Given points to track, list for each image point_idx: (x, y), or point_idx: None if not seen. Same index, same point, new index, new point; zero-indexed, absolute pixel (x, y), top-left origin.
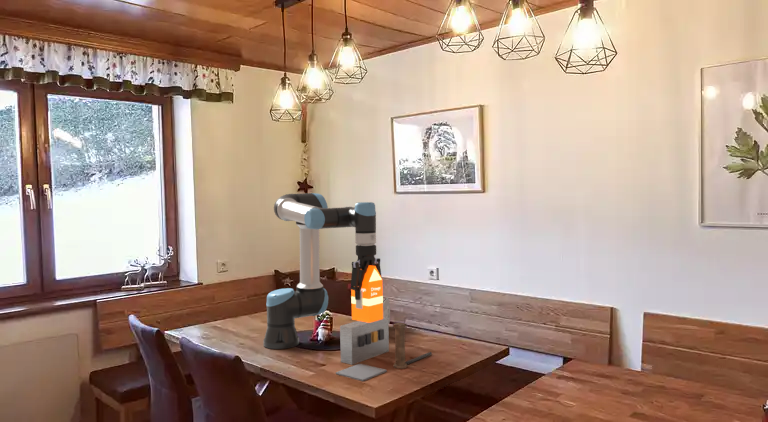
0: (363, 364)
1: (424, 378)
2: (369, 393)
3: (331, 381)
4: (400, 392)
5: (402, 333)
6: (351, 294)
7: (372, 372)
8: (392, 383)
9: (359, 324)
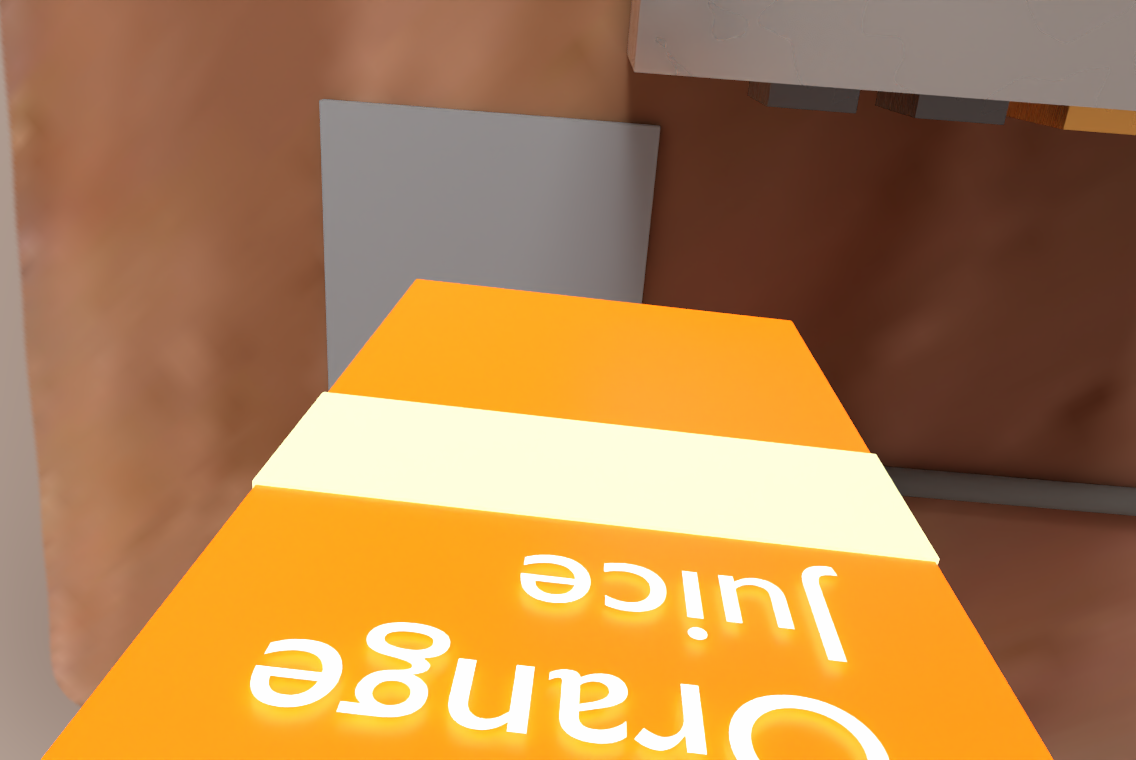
0: (650, 179)
1: None
2: (185, 572)
3: (168, 196)
4: None
5: None
6: (228, 524)
7: None
8: None
9: (912, 27)
